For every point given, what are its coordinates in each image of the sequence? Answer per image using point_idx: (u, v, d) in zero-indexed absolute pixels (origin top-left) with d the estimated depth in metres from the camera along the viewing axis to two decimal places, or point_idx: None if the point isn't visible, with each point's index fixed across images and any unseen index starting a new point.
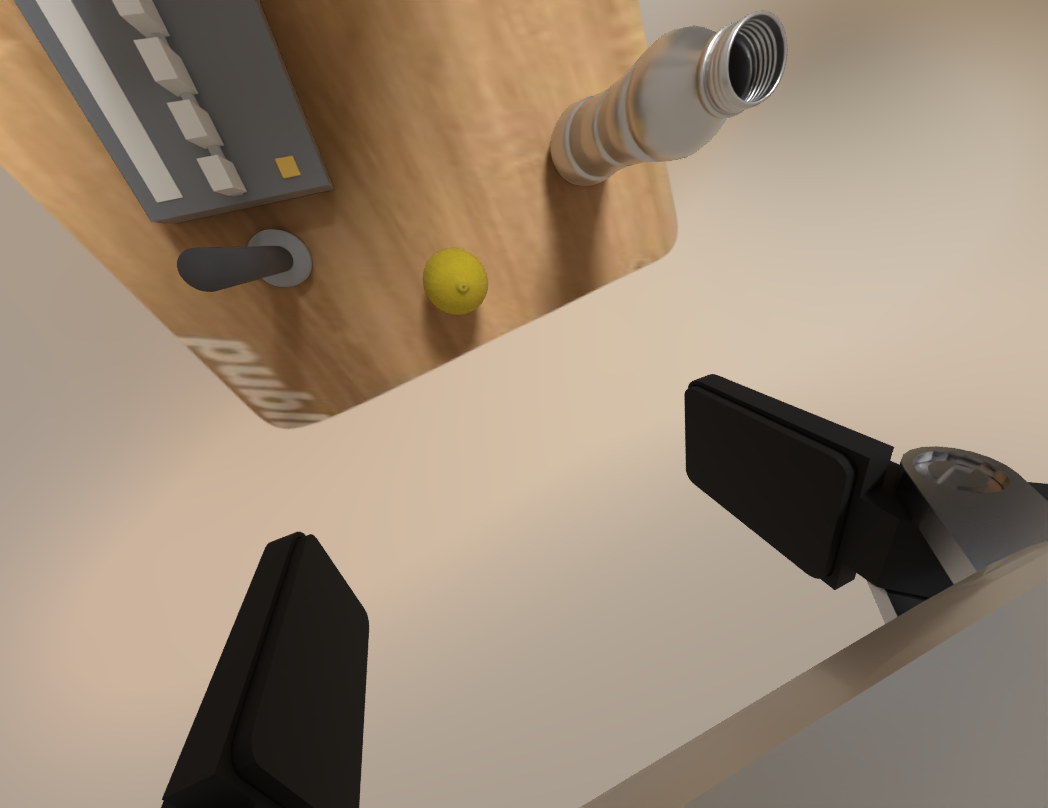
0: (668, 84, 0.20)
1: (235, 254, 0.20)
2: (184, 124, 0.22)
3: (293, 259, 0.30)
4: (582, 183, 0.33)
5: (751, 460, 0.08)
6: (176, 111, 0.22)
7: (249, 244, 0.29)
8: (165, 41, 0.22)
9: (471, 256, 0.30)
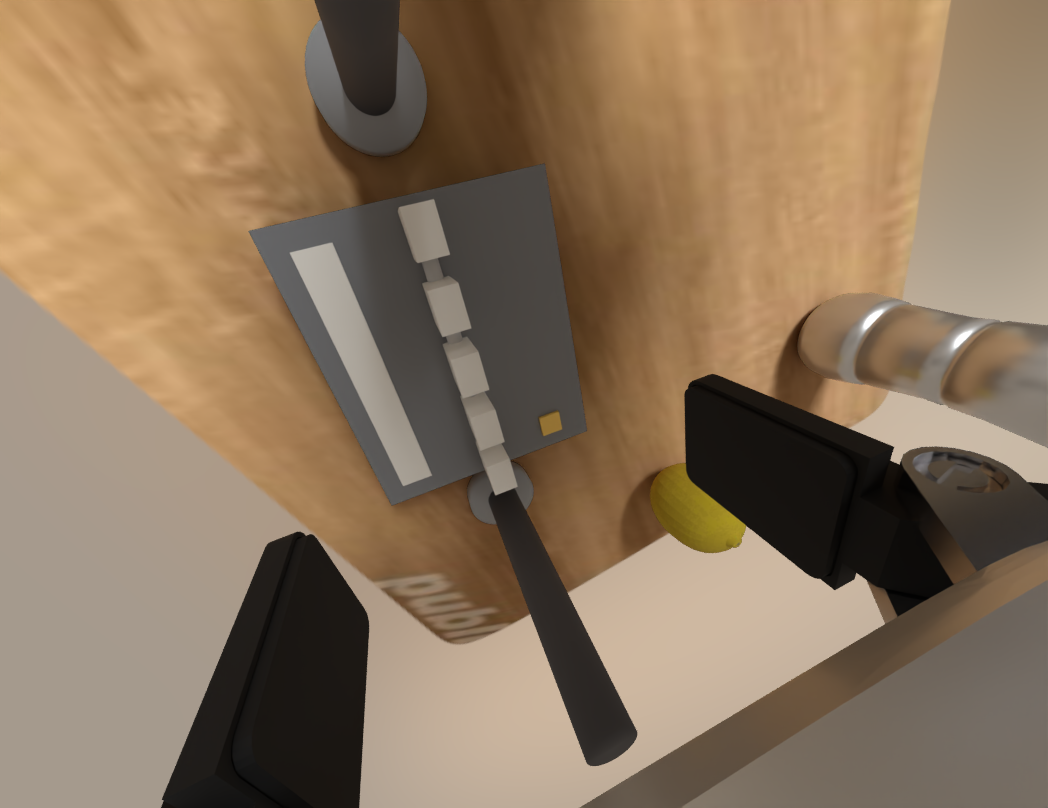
0: None
1: (599, 659, 0.15)
2: (483, 436, 0.17)
3: (517, 496, 0.25)
4: None
5: (751, 460, 0.08)
6: (477, 424, 0.17)
7: (475, 490, 0.24)
8: None
9: None
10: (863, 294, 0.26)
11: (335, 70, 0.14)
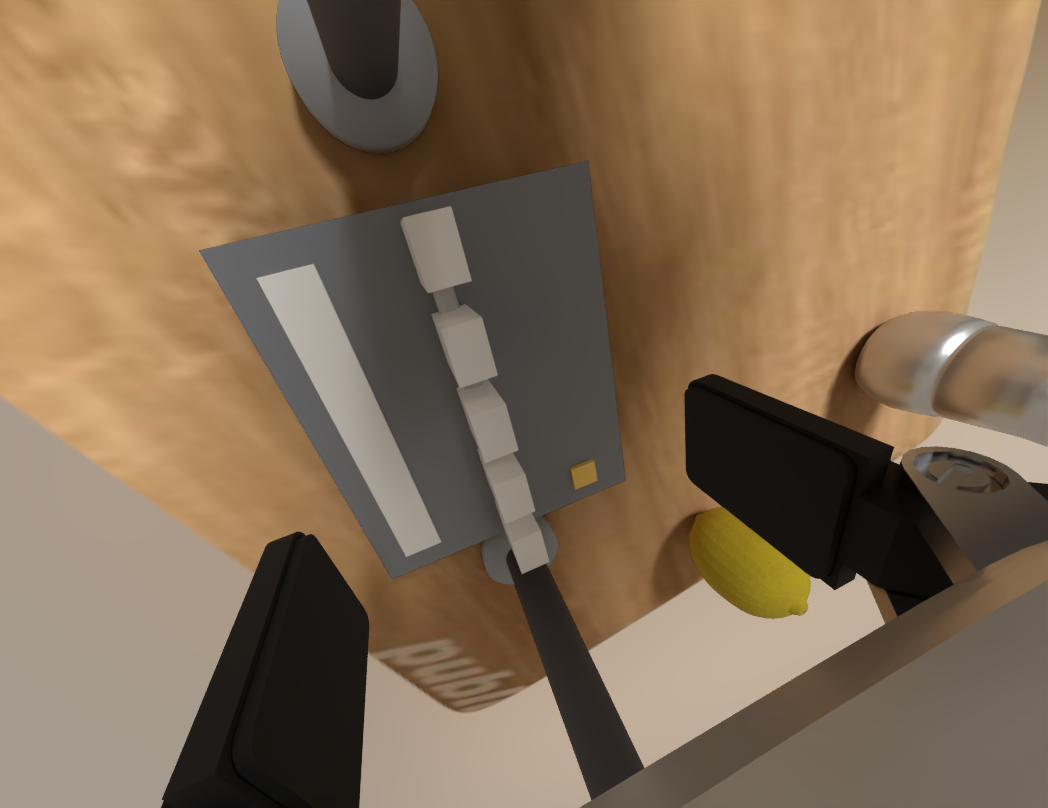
0: None
1: None
2: (509, 506, 0.13)
3: None
4: (903, 410, 0.24)
5: (751, 460, 0.08)
6: (503, 493, 0.13)
7: (491, 548, 0.20)
8: None
9: None
10: (938, 313, 0.22)
11: (317, 38, 0.11)
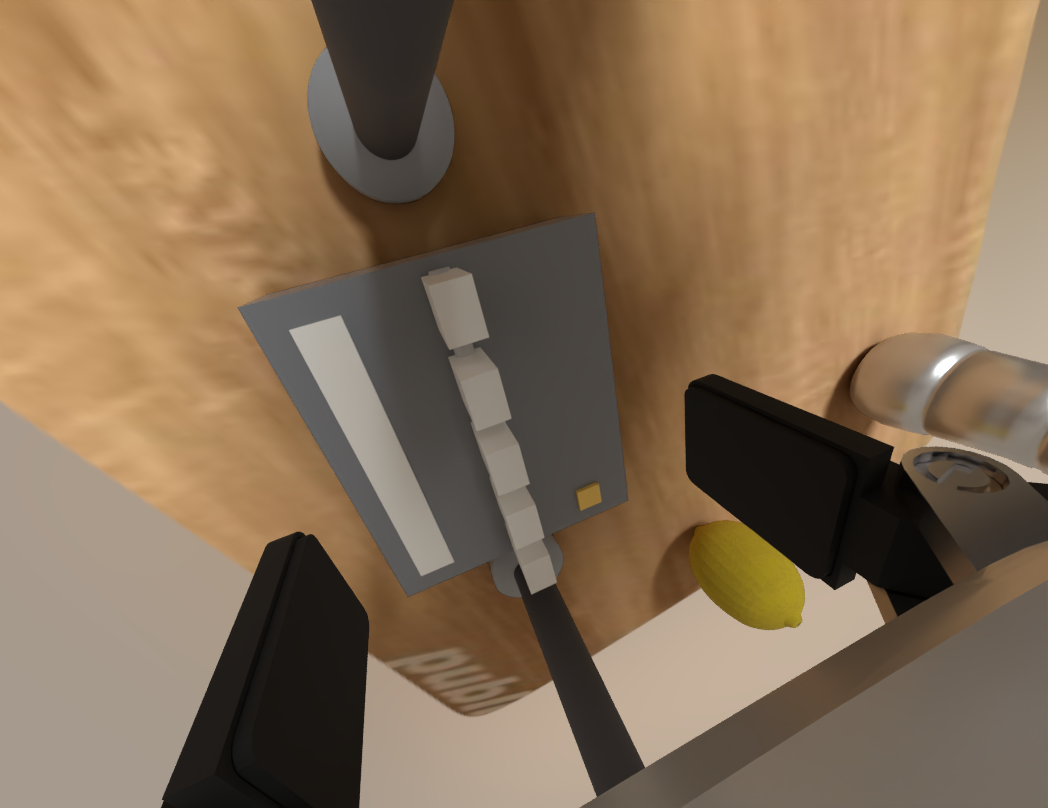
0: None
1: None
2: (520, 534, 0.14)
3: None
4: None
5: (751, 460, 0.08)
6: (514, 522, 0.14)
7: (499, 564, 0.21)
8: None
9: (789, 562, 0.22)
10: (929, 336, 0.23)
11: (344, 107, 0.11)
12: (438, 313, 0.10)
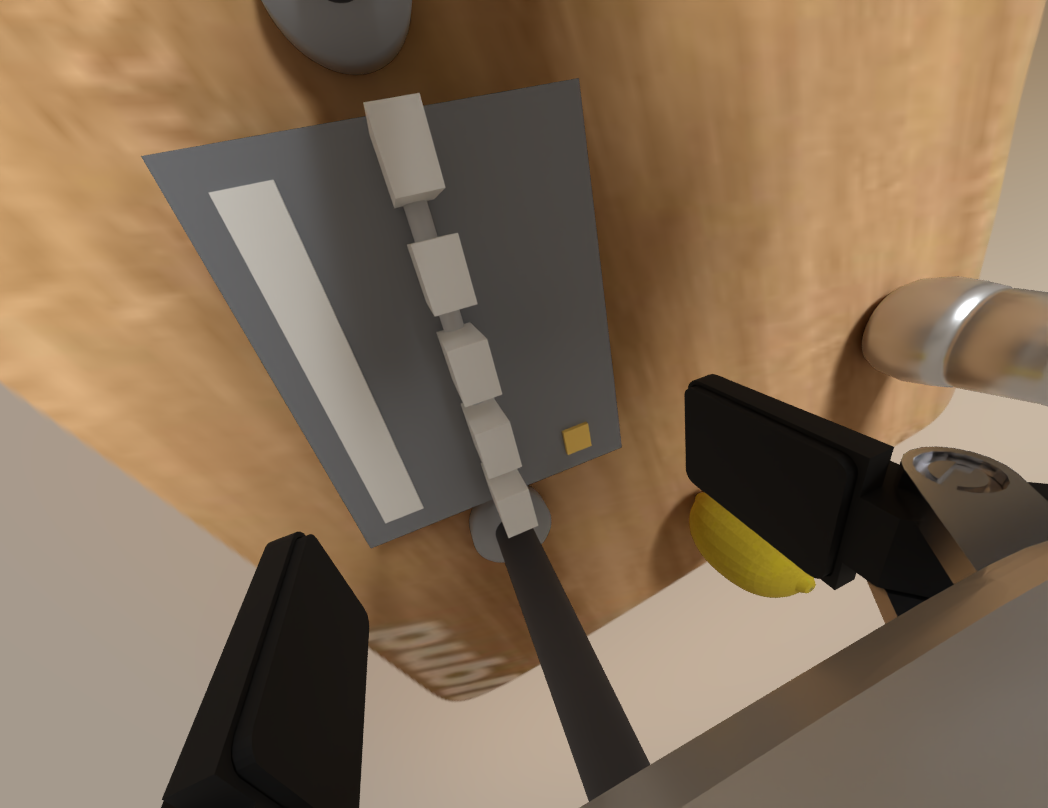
0: None
1: None
2: (492, 459, 0.12)
3: None
4: (913, 382, 0.23)
5: (751, 460, 0.08)
6: (485, 443, 0.12)
7: (479, 521, 0.19)
8: None
9: None
10: (949, 278, 0.21)
11: None
12: (379, 144, 0.08)
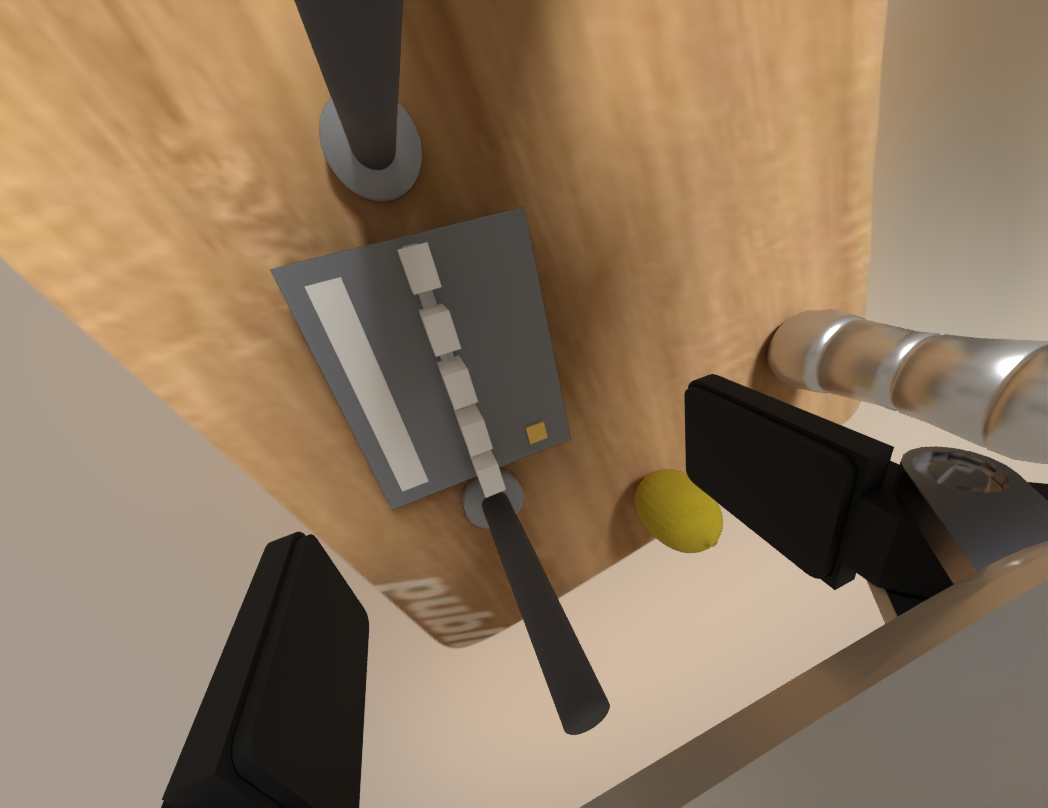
0: None
1: (577, 642, 0.16)
2: (473, 443, 0.19)
3: (509, 501, 0.27)
4: (805, 389, 0.30)
5: (751, 460, 0.08)
6: (468, 433, 0.19)
7: (469, 496, 0.26)
8: None
9: (709, 496, 0.27)
10: (823, 311, 0.28)
11: (344, 135, 0.17)
12: (405, 268, 0.15)
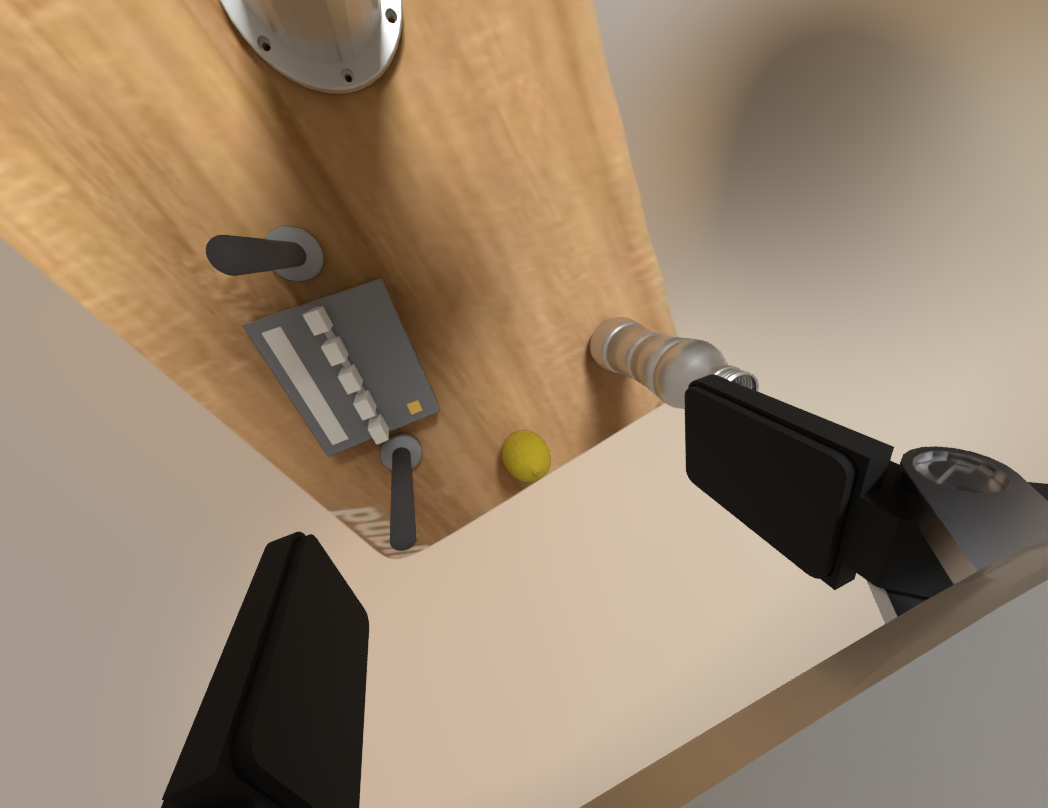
0: (683, 388, 0.31)
1: (410, 512, 0.31)
2: (362, 412, 0.34)
3: (411, 453, 0.42)
4: None
5: (751, 460, 0.08)
6: (358, 407, 0.34)
7: (382, 450, 0.41)
8: (347, 359, 0.34)
9: (539, 444, 0.41)
10: (615, 319, 0.42)
11: None
12: (307, 323, 0.30)
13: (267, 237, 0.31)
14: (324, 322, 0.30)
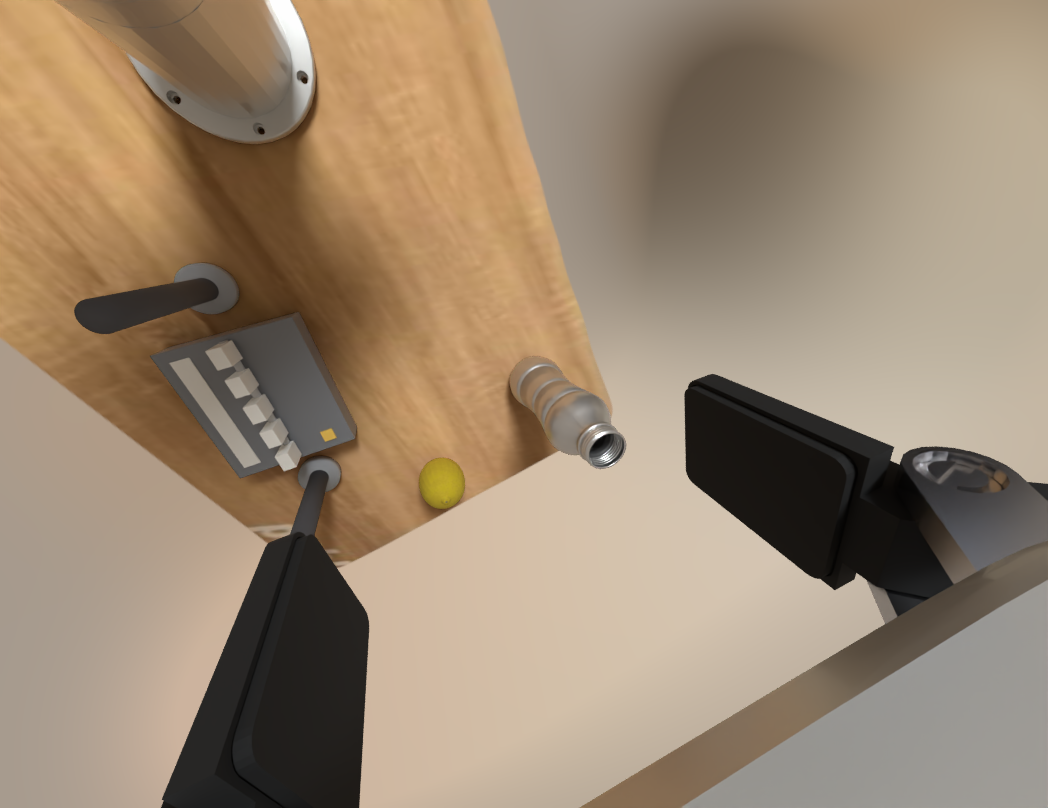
0: (564, 438, 0.33)
1: None
2: (268, 441, 0.35)
3: (328, 476, 0.44)
4: None
5: (751, 460, 0.08)
6: (264, 436, 0.35)
7: (299, 472, 0.42)
8: (256, 389, 0.35)
9: (452, 474, 0.44)
10: (532, 358, 0.45)
11: None
12: (210, 359, 0.31)
13: (178, 273, 0.32)
14: (228, 358, 0.32)
